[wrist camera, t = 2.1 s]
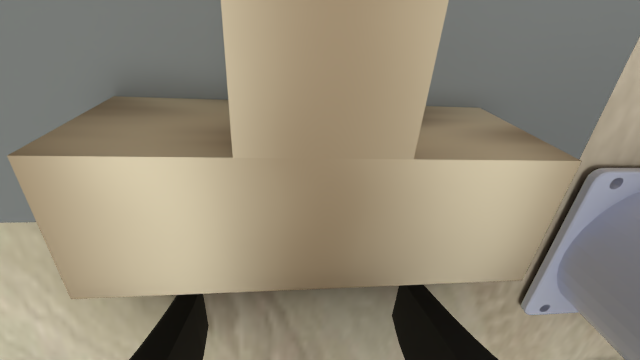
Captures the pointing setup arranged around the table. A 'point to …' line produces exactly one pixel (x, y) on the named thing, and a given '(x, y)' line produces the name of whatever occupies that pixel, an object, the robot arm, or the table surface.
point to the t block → (295, 168)
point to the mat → (211, 80)
